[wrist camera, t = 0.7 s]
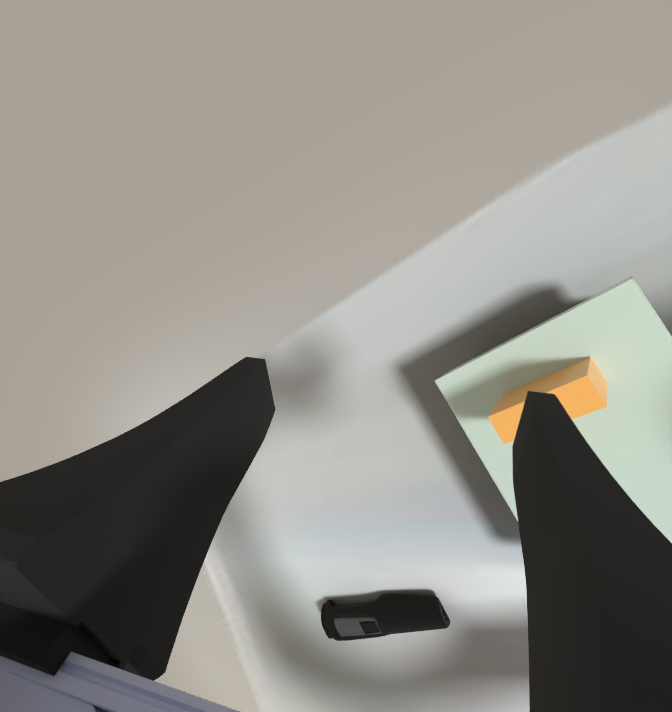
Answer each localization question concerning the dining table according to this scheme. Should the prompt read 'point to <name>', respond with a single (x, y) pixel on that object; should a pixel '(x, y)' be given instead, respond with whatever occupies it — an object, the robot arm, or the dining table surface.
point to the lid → (581, 393)
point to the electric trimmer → (383, 617)
